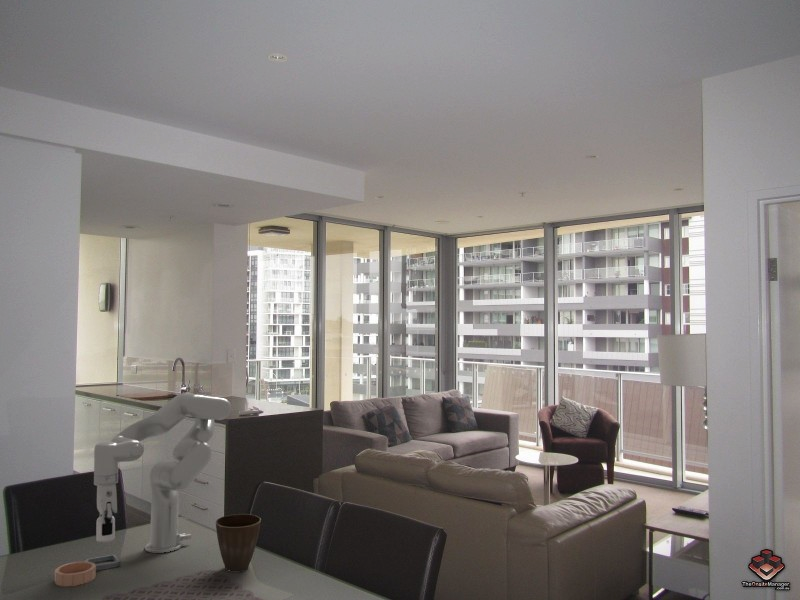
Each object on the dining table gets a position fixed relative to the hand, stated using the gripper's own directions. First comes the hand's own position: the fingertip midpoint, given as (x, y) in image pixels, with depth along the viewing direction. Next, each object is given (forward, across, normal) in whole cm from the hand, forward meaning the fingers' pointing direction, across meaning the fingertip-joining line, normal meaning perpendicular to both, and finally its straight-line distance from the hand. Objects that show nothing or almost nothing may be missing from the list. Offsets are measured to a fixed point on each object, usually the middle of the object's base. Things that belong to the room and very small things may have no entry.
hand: (105, 532), depth 216 cm
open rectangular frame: (+11, 0, +1) cm, 11 cm away
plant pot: (+12, -28, -36) cm, 47 cm away
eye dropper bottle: (+3, 0, 0) cm, 3 cm away
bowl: (+10, -9, +10) cm, 17 cm away
